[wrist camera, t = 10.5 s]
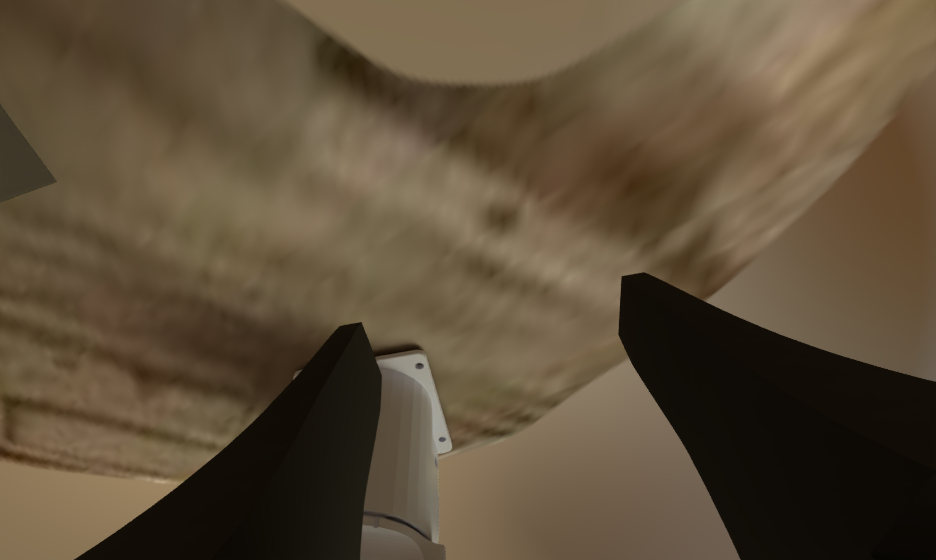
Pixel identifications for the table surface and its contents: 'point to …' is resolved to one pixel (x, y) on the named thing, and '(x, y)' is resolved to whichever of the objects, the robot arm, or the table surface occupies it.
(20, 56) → the table surface
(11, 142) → the plug
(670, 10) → the table surface
